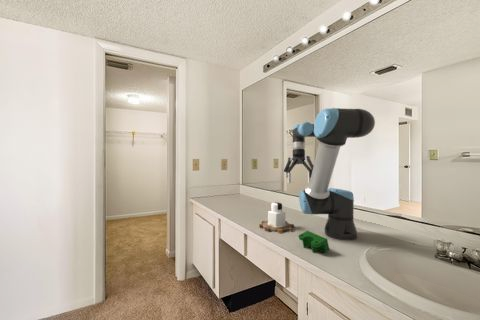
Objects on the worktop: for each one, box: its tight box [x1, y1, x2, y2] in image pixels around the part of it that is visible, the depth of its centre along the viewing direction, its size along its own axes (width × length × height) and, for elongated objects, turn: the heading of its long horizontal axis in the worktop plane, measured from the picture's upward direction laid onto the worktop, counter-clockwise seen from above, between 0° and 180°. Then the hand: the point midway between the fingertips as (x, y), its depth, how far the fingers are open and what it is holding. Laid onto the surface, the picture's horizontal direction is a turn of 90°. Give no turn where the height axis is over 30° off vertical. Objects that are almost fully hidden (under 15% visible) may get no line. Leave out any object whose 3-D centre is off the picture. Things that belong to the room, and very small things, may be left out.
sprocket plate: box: [258, 220, 295, 234], centre depth 118 cm, size 19×19×2 cm
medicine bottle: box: [267, 201, 286, 227], centre depth 118 cm, size 7×7×12 cm
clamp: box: [298, 230, 330, 254], centre depth 89 cm, size 12×6×9 cm, turn 20°
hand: (299, 183), depth 130 cm, fingers open, 13 cm apart
